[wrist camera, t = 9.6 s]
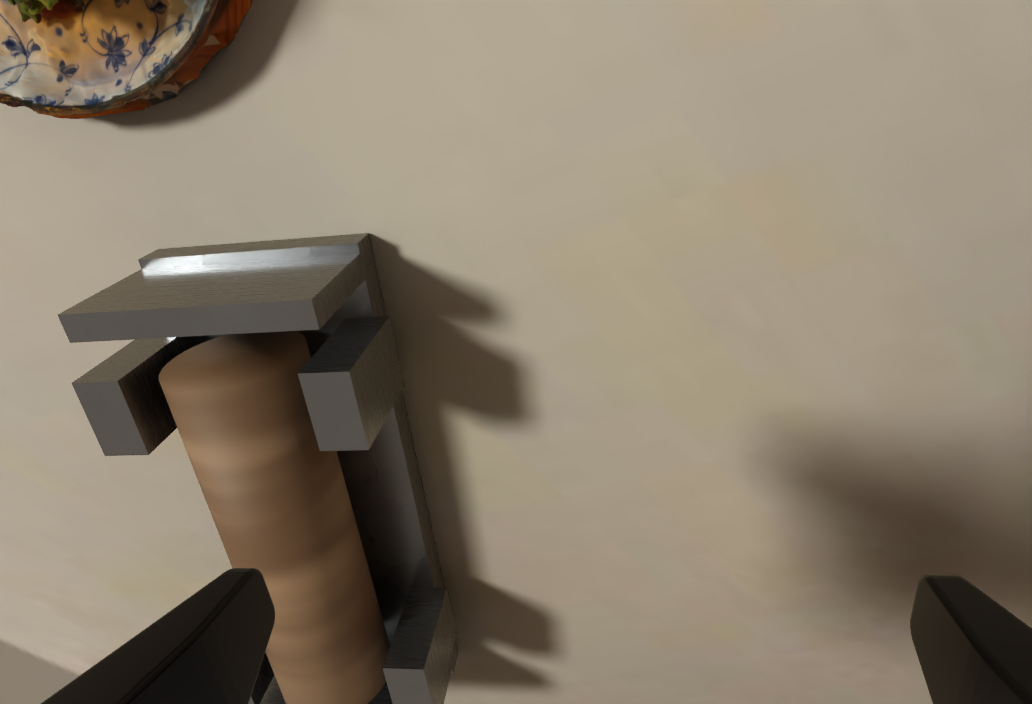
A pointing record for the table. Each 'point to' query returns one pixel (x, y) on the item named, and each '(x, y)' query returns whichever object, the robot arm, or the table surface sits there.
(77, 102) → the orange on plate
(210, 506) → the cylinder
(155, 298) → the cradle
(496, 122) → the table surface
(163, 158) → the table surface
